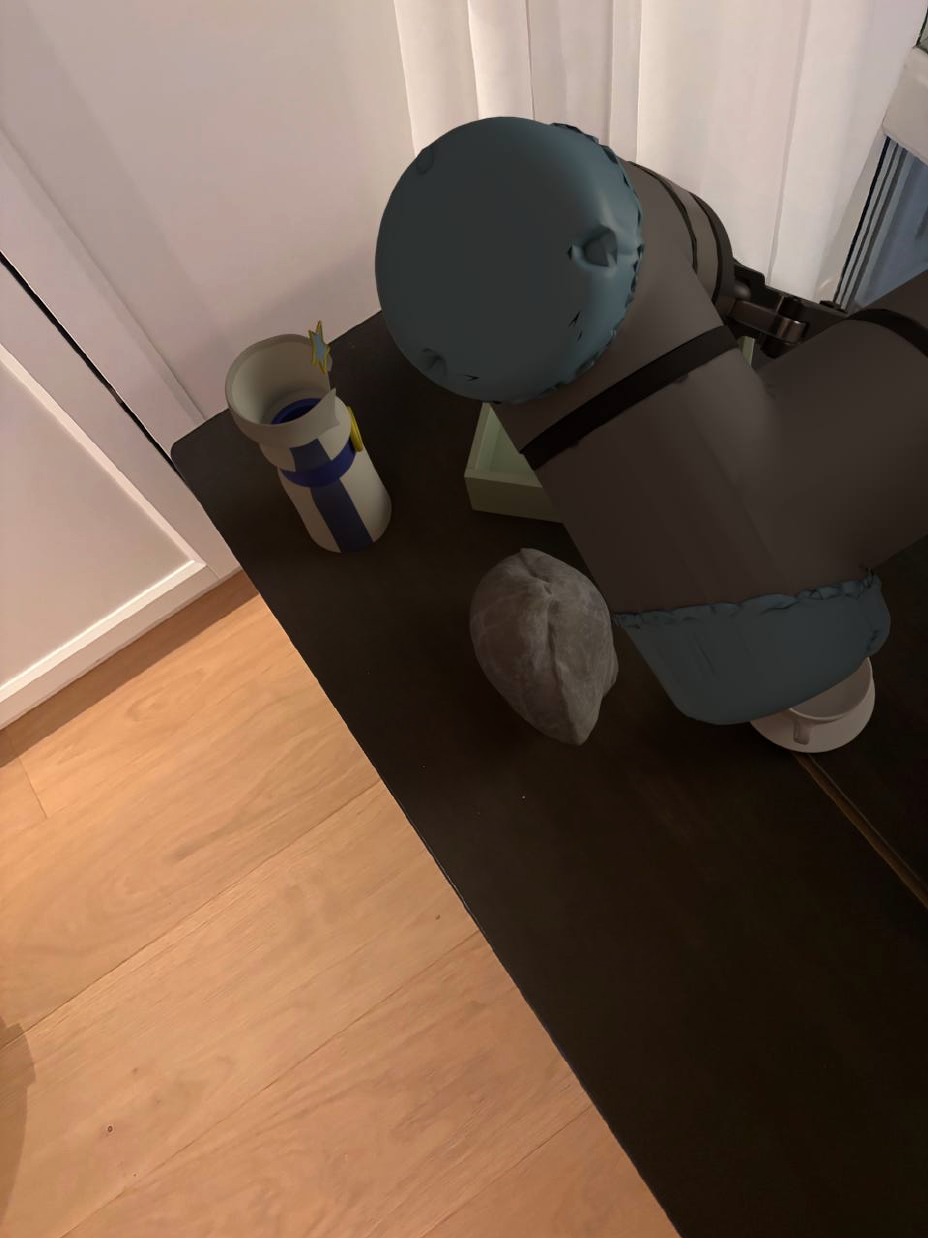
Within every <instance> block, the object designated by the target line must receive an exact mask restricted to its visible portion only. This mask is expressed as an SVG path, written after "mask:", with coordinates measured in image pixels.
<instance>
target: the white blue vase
mask: <svg viewBox="0 0 928 1238" xmlns="http://www.w3.org/2000/svg"><path fill="white" fill-rule="evenodd" d="M315 328H316V329H315V331H313V330H311V329H308V331H307V332H308V336H309V337H308V336H305V335H302V334H296V333H284V334H277V335H275V336H274V335H273V336H271V337H268V338H265V339H262V340H259V341H257V342H255V343H253V344H251V345H249V346H248V347H246V348H245V349H244V350H242V351H241V352H240V353H239V354H238V356H237V357H236V358H235V359H234V360H233V362H232V364H231V365H230V367H229V369H228V371H227V374H226V378H225V384H224V394H225V399H226V404H227V407H228V410H229V412H230V415H231V417H232V419H233V421H234V423H235V424H236V426H237V427H238V429H239V430H240V432H242V433H243V434H244V435H245V436H246V437H248V438H249V439H250V440H252V441H254V442H256V443H258V445H259V448H260V451H261V452H262V454H263V456H264V457H265V458H266V460H267V461H268V462H269V463H271V464H272V465H273V466H275V467H276V469H277V475H278V477H279V480H280V482H281V485H282V487H283V489H284V491H285V492H286V494H287V495H288V497H289V499H290V501H291V502H292V504H293V506H294V507H295V509H296V510H297V512H298V514H299V516H300V518H301V521H302V522H303V524H304V526H305V528H306V530H307V532H308V534H309V535H310V537H311V539H312V540H313V541H314V542H315V543H316V544H317V545H318V546H319V547H321V548H323V549H324V550H327V551H330V552H334V553H340V554H346V553H347V554H348V553H354V552H357V551H361V550H364V549H365V548H368V547H369V546H371V545H372V544H374V543H375V542H376V541H377V540H379V539H380V538H381V536H382V535H383V534H384V533H385V531H386V530H387V528H388V526H389V524H390V521H391V519H392V511H393V510H392V509H393V507H392V500H391V497H390V494H389V493H388V491H387V489H386V487H385V485H384V483H383V482H382V480H381V478H380V476H379V474H378V472H377V470H376V468H375V467H374V464H373V462H372V460H371V458H370V455H369V453H368V451H367V449H366V447H365V446H364V443H363V439H362V436H361V433H360V430H359V427H358V424H357V421H356V418H355V415H354V412H353V411H352V408H351V407H350V406H348V405H346V404H345V403H344V402H343V401H342V400H341V399H340V398H339V397H338V396H337V395H336V390H337V388H336V387H333V388H332V389H331V385H330V379H329V377H330V376H329V372H331V369H332V366H333V358H332V357H331V355H330V353H329V352H330V350H331V348H330V347H329V345H328V344H327V343H326V342H325V340H324V331H323V323H322V320H321V319H320V320H318V321H317V325H316V327H315Z"/></svg>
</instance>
